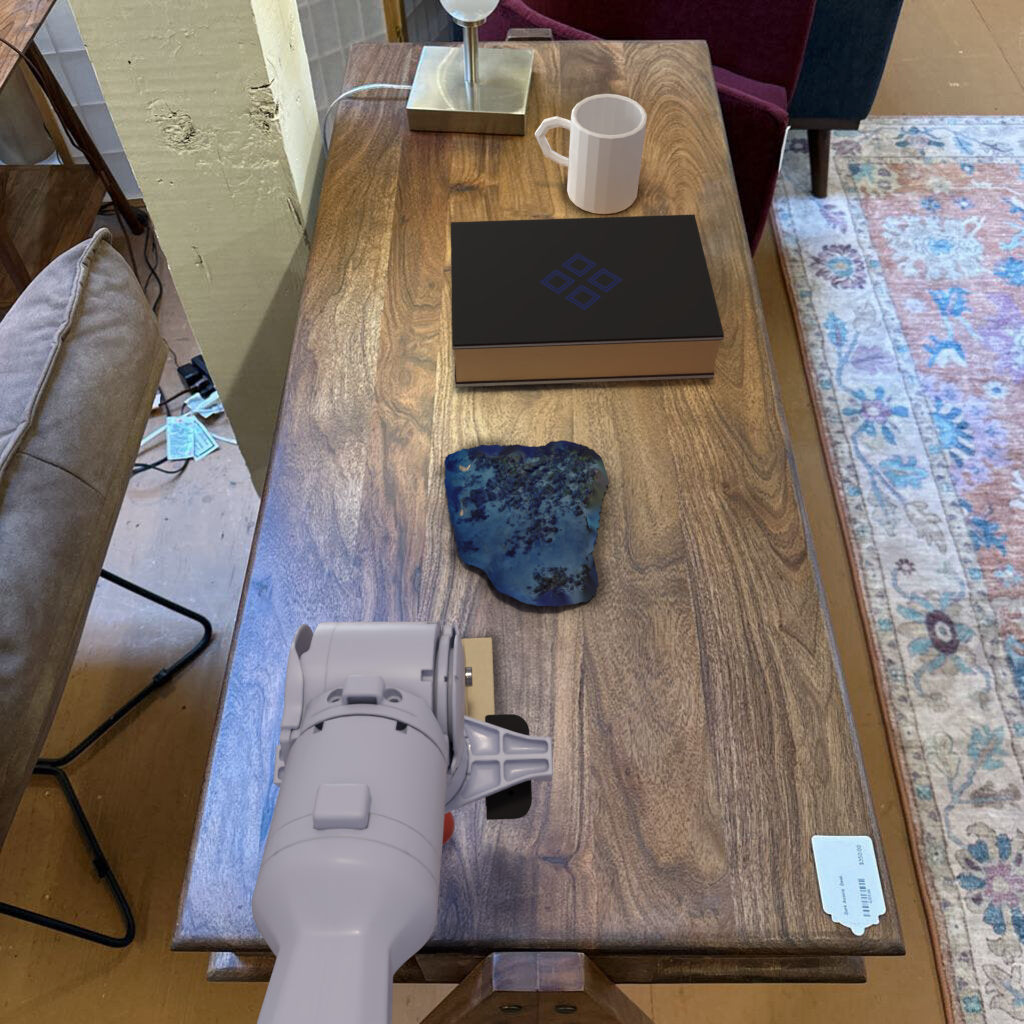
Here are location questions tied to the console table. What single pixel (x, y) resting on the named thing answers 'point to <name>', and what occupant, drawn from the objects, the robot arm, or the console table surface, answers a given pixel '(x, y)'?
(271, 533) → the console table surface
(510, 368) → the book
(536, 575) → the rock
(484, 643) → the bracket
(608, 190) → the mug
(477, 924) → the console table surface
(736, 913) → the console table surface
